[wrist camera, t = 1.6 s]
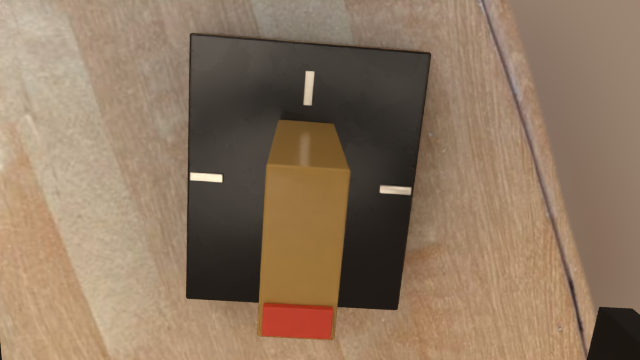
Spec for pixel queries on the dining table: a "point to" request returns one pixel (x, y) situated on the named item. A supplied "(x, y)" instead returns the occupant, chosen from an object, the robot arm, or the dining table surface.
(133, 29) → the dining table surface
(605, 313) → the robot arm
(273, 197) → the lock turn
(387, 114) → the plate
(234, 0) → the dining table surface
